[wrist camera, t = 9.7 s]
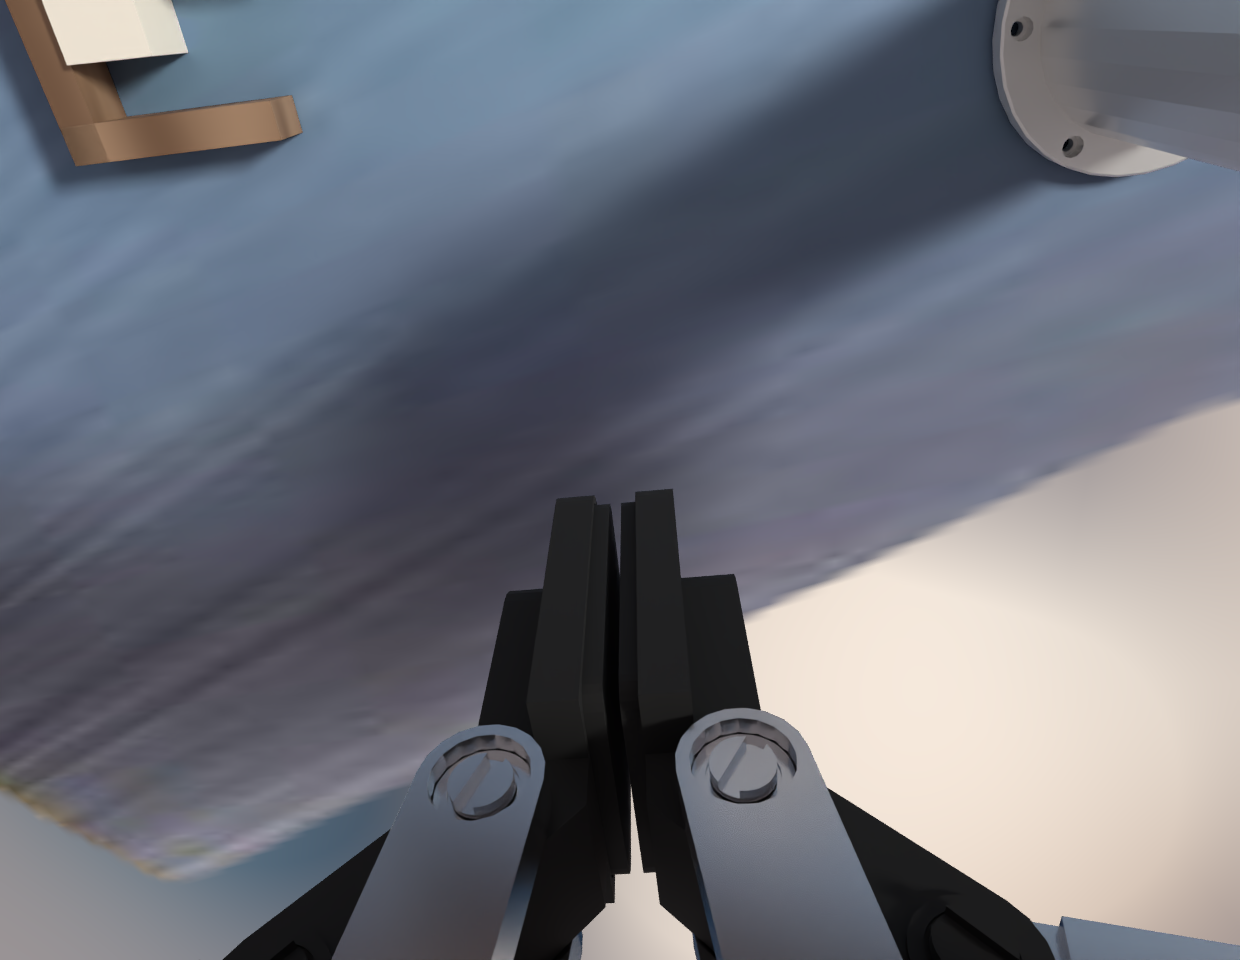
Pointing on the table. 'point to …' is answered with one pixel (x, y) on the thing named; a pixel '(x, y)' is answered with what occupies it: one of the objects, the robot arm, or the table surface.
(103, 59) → the t block
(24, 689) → the table surface
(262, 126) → the brown u-shaped bracket
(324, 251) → the table surface
